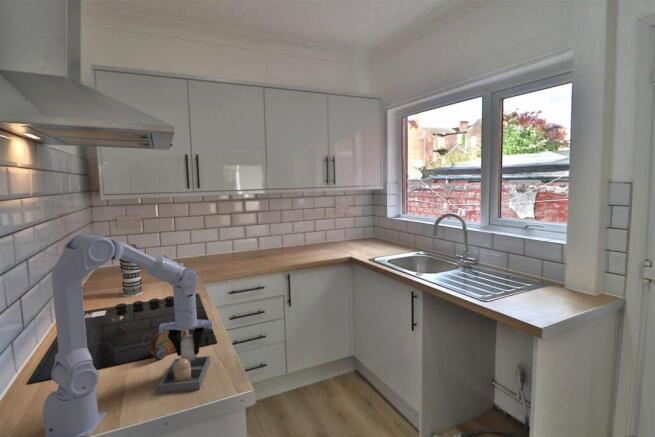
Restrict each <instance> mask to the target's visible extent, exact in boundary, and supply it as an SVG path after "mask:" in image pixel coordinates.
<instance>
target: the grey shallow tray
mask: <svg viewBox="0 0 655 437" xmlns="http://www.w3.org/2000/svg"><path fill="white" fill-rule="evenodd" d="M179 359H181V357H180V358H174V359H173V361H172V362H171V364H170V366H169V367H168V368H167V371H166V373H165V374H164V376H163V378H162V379H161V380H160V382H159V384H158V392H159V394H162V393H163V394H164V393H176V392H184V391H185V392H186V391H196V390H198V391H199V390H201V387H202V385H203V382H204V380H205V377H206V375H207V373H208V369H209V367H210V365H211V356H210V355H205V356H197V358H196V359H194V360H192V361H189V362H190V364H191V378H192V381H188V382H176V383H175V377H174V365H175V363H176V361H178V360H179Z"/></svg>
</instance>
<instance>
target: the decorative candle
mask: <svg viewBox="0 0 655 437" xmlns="http://www.w3.org/2000/svg"><path fill="white" fill-rule="evenodd" d="M126 244H127V245H129V246H131V247H133V248H135V249H137V250H139V246H138V245H136V244H135V243H126ZM118 261H119V262H120V263H119V266H120V273H121V274H122V282H121V283H122V293H123V295H122V296H123V297H124V296H125V297H126V298H132V297H133V296H134V297H137V296H140V294H141V295H142V294H143V285H142V283H143V282H142V280H143V279H141V278H142V277H141V271H142V270H141V269H142V268H141V266H139V265H137V264H134V263H132V262H129V261H126V260H124V259H118ZM125 297H124V298H125Z"/></svg>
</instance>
